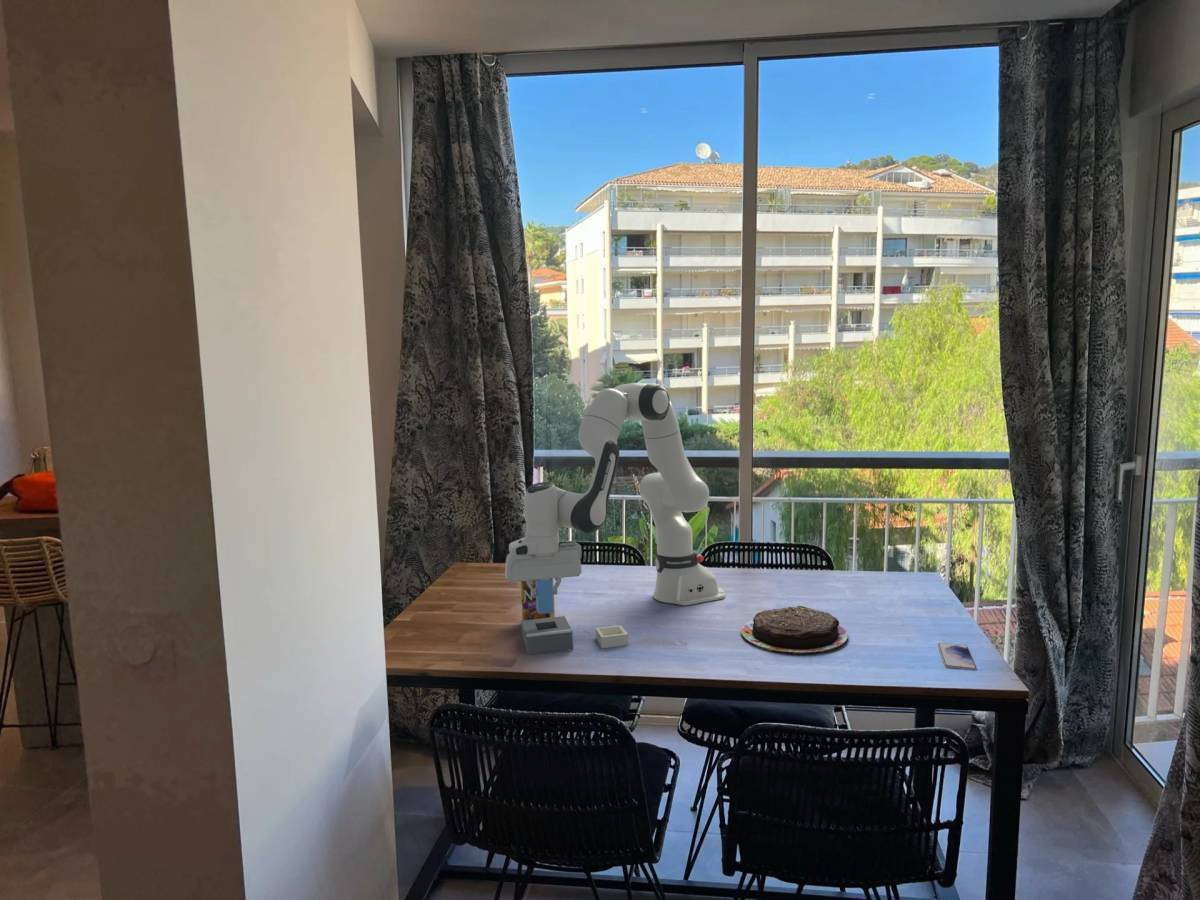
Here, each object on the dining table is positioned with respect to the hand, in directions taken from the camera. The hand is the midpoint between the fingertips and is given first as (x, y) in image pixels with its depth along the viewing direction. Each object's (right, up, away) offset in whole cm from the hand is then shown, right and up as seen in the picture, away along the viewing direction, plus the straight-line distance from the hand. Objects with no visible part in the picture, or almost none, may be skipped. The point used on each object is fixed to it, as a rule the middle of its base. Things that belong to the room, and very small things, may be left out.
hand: (544, 594), depth 208 cm
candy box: (-3, -12, +17) cm, 21 cm away
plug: (0, -4, 0) cm, 5 cm away
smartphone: (+103, -13, -16) cm, 105 cm away
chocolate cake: (+67, -12, +2) cm, 68 cm away
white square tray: (+18, -13, +1) cm, 22 cm away
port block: (+1, -14, +2) cm, 14 cm away
